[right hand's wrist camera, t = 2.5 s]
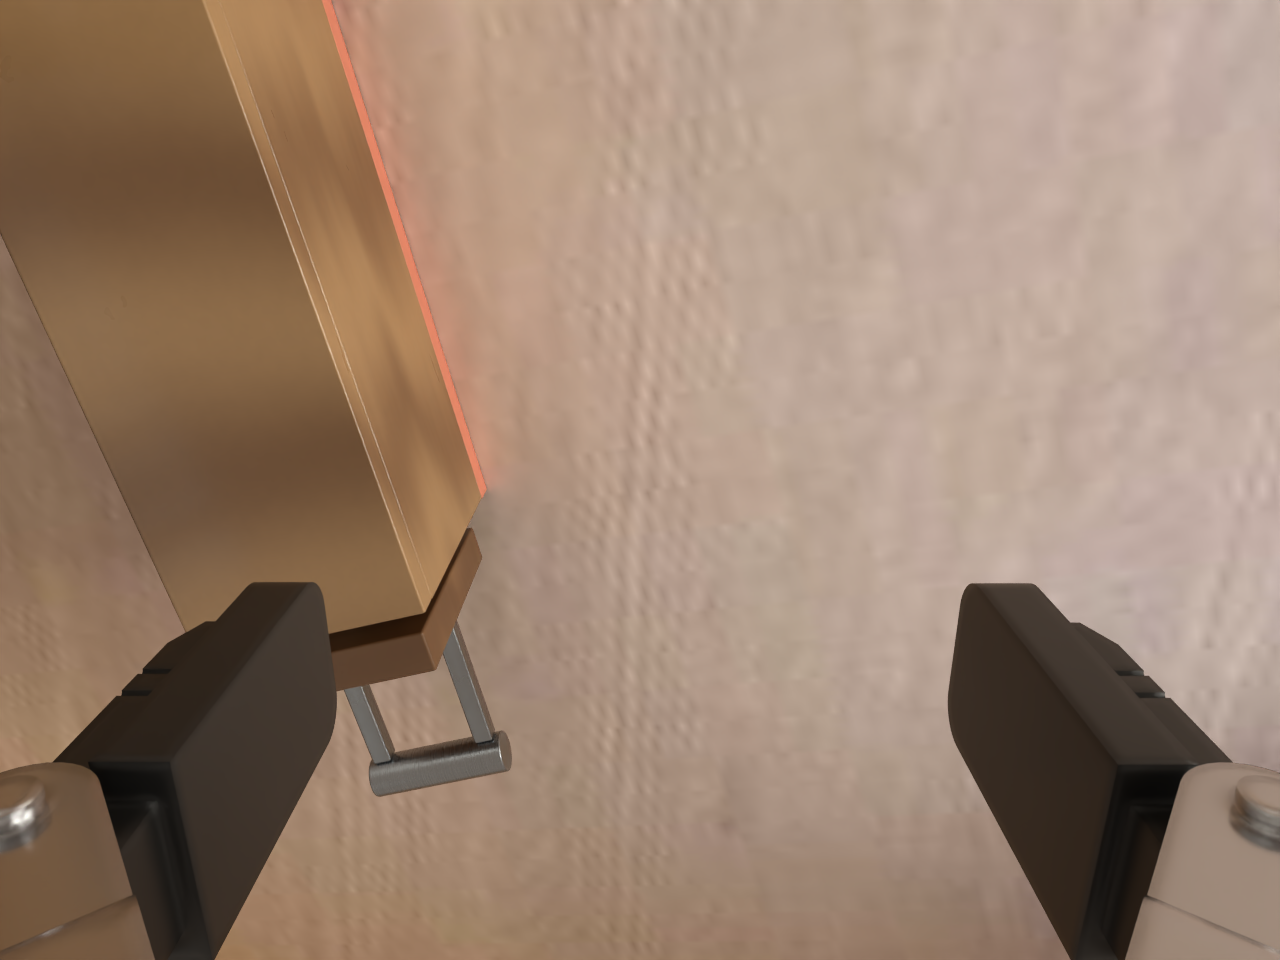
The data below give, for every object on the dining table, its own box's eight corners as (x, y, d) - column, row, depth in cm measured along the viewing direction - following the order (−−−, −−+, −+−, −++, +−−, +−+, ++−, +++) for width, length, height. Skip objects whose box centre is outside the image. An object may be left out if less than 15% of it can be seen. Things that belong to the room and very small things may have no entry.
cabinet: (486, 489, 31) (426, 614, 22) (319, 527, 31) (198, 663, 23) (248, -260, 24) (27, -492, 15) (38, -194, 24) (-290, -384, 16)
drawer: (531, 703, 32) (500, 846, 26) (403, 730, 33) (341, 877, 26) (258, -125, 24) (105, -238, 17) (91, -76, 24) (-124, -168, 17)
